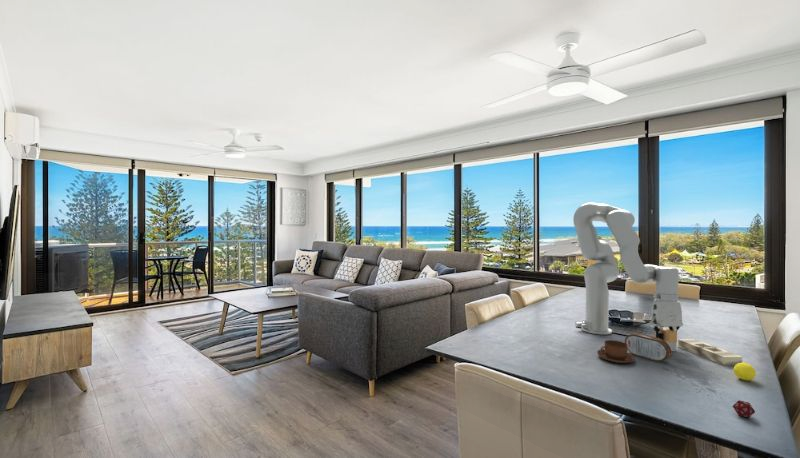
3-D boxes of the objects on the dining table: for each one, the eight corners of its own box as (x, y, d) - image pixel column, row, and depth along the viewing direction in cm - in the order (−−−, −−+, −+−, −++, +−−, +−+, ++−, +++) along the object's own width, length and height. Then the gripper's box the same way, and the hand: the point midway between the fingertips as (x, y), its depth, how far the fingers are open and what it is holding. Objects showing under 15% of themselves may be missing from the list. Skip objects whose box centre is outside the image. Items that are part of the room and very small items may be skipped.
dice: (755, 422, 96) (755, 406, 96) (732, 416, 99) (732, 401, 99) (755, 416, 98) (755, 401, 98) (732, 410, 101) (732, 396, 101)
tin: (671, 363, 136) (672, 340, 135) (667, 365, 134) (668, 341, 134) (627, 351, 148) (627, 330, 148) (623, 352, 146) (623, 331, 146)
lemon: (754, 385, 118) (754, 368, 118) (731, 379, 122) (731, 363, 122) (757, 379, 122) (757, 363, 122) (735, 374, 126) (735, 358, 126)
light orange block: (676, 351, 148) (677, 332, 148) (669, 351, 148) (670, 332, 148) (660, 344, 156) (661, 326, 156) (654, 344, 156) (654, 326, 156)
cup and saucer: (621, 368, 131) (621, 350, 131) (590, 357, 141) (590, 340, 141) (641, 362, 136) (642, 345, 136) (610, 352, 147) (610, 336, 147)
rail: (742, 365, 134) (742, 356, 134) (724, 365, 134) (724, 357, 134) (693, 346, 154) (694, 339, 154) (678, 346, 154) (678, 339, 154)
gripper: (654, 299, 147) (652, 345, 148) (693, 299, 149) (692, 344, 149) (640, 295, 155) (639, 339, 155) (678, 295, 156) (677, 338, 157)
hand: (665, 341), depth 152 cm, fingers open, 4 cm apart
